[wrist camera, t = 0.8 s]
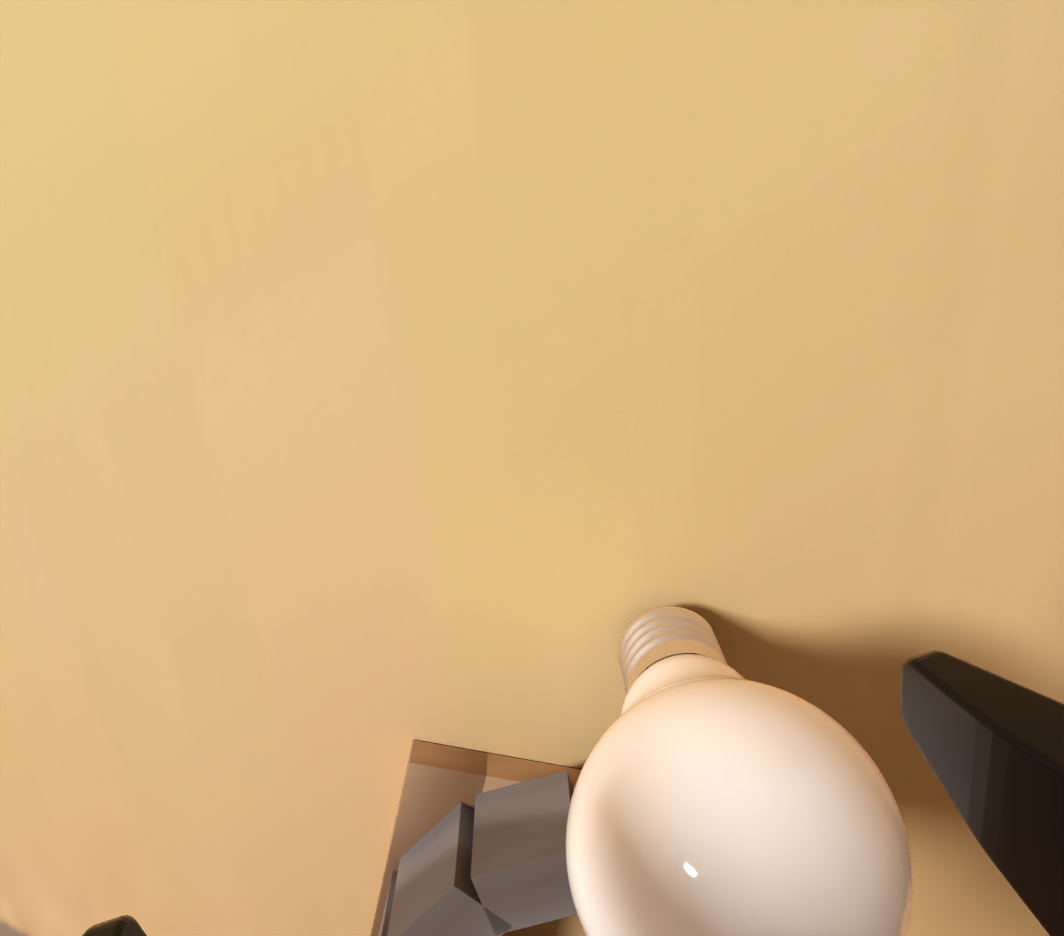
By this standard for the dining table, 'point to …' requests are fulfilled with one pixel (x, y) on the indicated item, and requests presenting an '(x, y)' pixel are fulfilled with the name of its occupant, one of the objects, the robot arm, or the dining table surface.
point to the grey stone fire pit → (476, 845)
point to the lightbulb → (729, 806)
